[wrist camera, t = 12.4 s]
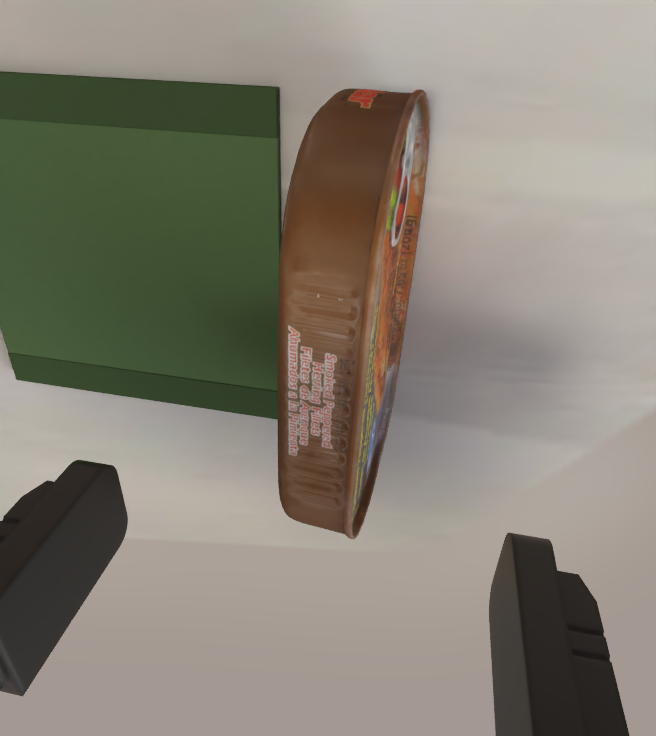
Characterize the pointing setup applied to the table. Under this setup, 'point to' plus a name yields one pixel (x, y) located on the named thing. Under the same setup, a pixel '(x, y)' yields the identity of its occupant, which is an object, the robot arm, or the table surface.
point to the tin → (346, 298)
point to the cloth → (142, 238)
